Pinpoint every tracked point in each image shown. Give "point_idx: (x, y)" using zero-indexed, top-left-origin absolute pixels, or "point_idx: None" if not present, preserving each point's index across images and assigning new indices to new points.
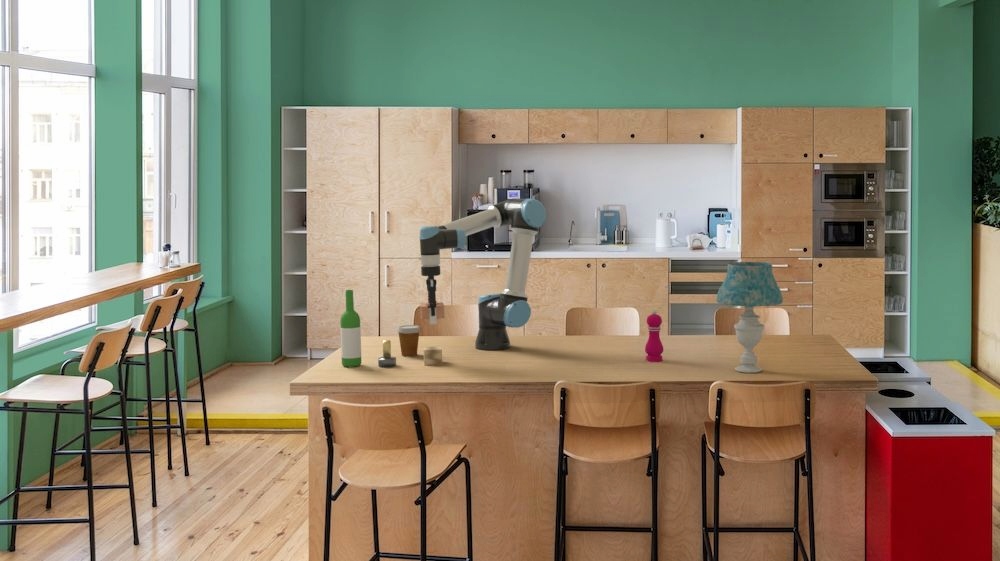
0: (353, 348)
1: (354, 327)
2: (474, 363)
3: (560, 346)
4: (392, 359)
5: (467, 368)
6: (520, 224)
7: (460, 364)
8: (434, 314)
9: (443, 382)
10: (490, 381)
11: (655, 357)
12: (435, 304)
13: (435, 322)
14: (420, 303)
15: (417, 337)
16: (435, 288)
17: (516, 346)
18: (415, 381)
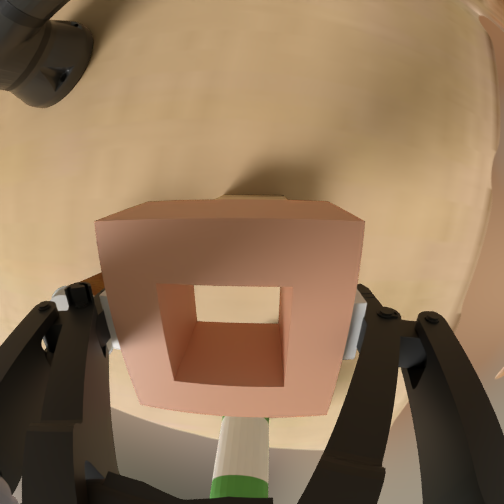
0: (268, 440)
1: (265, 482)
2: (284, 90)
3: None
4: None
5: (362, 124)
6: None
7: (293, 135)
8: (367, 292)
9: (486, 221)
10: (492, 120)
11: None
12: (444, 325)
13: None
14: (140, 404)
15: (99, 287)
16: (373, 499)
17: (69, 18)
18: (462, 281)
